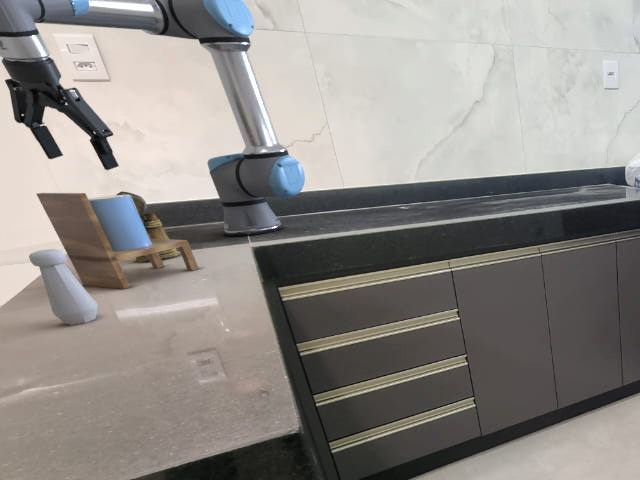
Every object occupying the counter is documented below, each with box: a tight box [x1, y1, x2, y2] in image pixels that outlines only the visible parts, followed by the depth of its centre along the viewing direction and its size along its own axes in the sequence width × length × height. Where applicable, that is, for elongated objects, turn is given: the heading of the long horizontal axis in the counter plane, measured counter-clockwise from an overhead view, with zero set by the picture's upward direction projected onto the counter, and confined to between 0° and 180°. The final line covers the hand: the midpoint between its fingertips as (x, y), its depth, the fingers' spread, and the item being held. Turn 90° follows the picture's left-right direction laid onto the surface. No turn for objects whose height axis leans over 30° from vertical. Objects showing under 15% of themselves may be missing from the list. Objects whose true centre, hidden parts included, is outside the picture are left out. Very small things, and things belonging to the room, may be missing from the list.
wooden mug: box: [116, 191, 179, 263], centre depth 136 cm, size 9×14×18 cm, turn 35°
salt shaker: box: [28, 248, 99, 326], centre depth 94 cm, size 6×6×13 cm
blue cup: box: [88, 194, 152, 251], centre depth 118 cm, size 11×8×11 cm
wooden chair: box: [36, 192, 200, 290], centre depth 120 cm, size 16×14×20 cm
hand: (84, 162), depth 120 cm, fingers open, 13 cm apart
